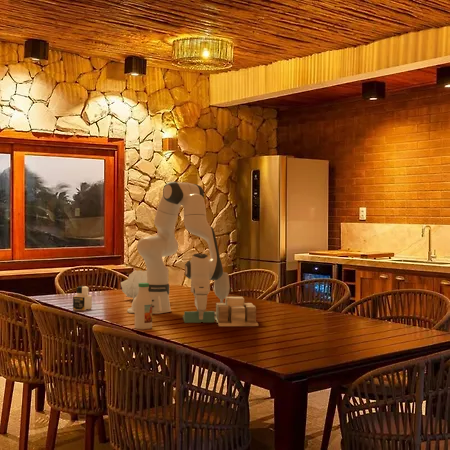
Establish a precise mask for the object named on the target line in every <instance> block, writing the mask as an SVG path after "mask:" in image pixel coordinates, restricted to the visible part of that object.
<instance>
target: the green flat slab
mask: <svg viewBox="0 0 450 450" xmlns="http://www.w3.org/2000/svg"><path fill="white" fill-rule="evenodd" d="M215 312H216V311H215V310H205V311H204V313H203V319H202V320H200V319H199V311H197V310H195V311H194V310H191V311H187V310H185V311H184V312H183V313H184V314H182V320H183V322H184V324H186V323H187V324H188V323H191V324H192V323H201V322H203V323H215V317H216V315H215ZM201 324H202V323H201Z"/></svg>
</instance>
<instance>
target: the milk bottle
mask: <svg viewBox="0 0 450 450" xmlns="http://www.w3.org/2000/svg"><path fill="white" fill-rule="evenodd" d="M138 286H139V292H138V295H137V297H136V300H135V313H134V329H137V330H150V329H152V328H153V314H152V299H151V296H150V294H149V291H148V288H149V283H139V284H138Z"/></svg>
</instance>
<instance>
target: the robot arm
mask: <svg viewBox="0 0 450 450" xmlns="http://www.w3.org/2000/svg"><path fill="white" fill-rule="evenodd" d="M181 207H182V208H183V224H184V227H185V230H186V231H187V232H188V233H190V234H191V235H193V236H196V237H199V238H201V239H203V240H204V241H205V242H206V243H207V246H208V250H209V255H208V254H205V253H202V252H201V253H199V252H198V253H197V252H196V253H193V254H192V256H191V259H190V260H187V262H186V263H185V264H184V275H185V276H186V278H187V279H189V280H190V293H193V296H194V306H195V307H196V311H199V319H200V320H202V319H203V313H204V311H207V305H208V304H207V303H208V302H207V301H208V295H209V293H210V291H211V288H210V287H211V286H210V285H211V282H210V281H215V280H218V279H219V278H220V277H221V276H222V275H223V272H224V267H223V263H222V260H221V256H220V250H219V246H218V242H217V237H216V232H215V230H214V227H212V226H211V225H210V224H209V222H208V218H207V209H206V203H205V191H204V189H203V187H202V186H200V185H199V184H195V183H190V182H183V181H182V182H180V181H179V182H178V181H177V182H176V181H169V182H167V183H165V185H164V187H163V189H162V195H161V197H160V199H159V203H158V205H157V209H156V212H155V215H154V220H153V224H154V227H155V228H156V231H157V233H156V235H148V236H144V237H142V238H140V239H139V240H138V242H137V244H136V249H137V252H138V254H139V256H141V258H142V259H143V262H144V263H145V267H146V270H147V283H149V288H148V291H149V294H150V296H151V299H152V315H154V314H155V315H158V314H163V313H169V312H172V309H171V303H170V283H169V268H168V267H167V265H165V263H164V261H163V257H164V258H165V257H169V256H173V255H175V254H176V253H177V252H178V249H179V242H178V240H177V239H176V234H175V231H176V226H177V220H178V217H179V213H180V209H181ZM209 256H210V258H209ZM136 297H137V296H136ZM136 297H135V298H134V299H133V298H132V302H131V307H129V308H127V311H126V312H127V313H129V314H135V300H136Z"/></svg>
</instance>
